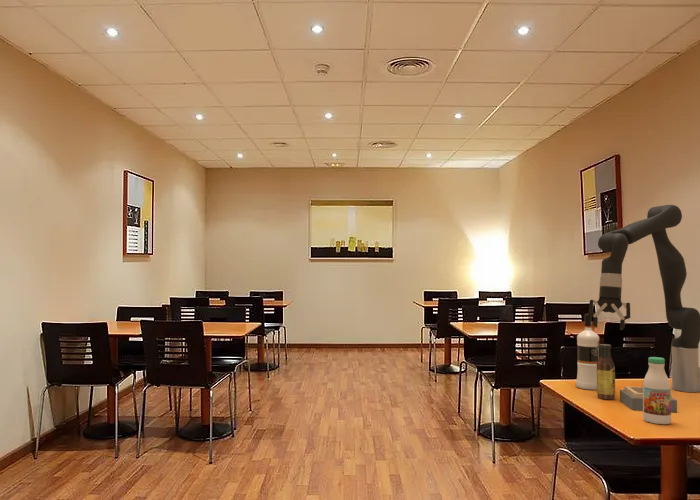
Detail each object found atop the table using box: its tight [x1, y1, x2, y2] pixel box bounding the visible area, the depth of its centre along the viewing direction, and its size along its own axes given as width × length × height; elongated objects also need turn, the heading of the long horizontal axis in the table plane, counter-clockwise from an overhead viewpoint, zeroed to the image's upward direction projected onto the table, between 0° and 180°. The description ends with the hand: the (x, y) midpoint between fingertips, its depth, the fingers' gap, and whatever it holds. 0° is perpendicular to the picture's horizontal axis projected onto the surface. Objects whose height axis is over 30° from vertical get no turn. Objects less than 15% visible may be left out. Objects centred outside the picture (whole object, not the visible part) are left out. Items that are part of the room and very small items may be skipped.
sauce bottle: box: [596, 343, 616, 400], centre depth 205 cm, size 7×6×20 cm
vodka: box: [575, 313, 600, 391], centre depth 223 cm, size 9×9×30 cm
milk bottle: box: [642, 356, 672, 425], centre depth 173 cm, size 8×8×20 cm
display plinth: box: [619, 385, 678, 413], centre depth 193 cm, size 14×14×6 cm
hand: (608, 328), depth 206 cm, fingers open, 8 cm apart
